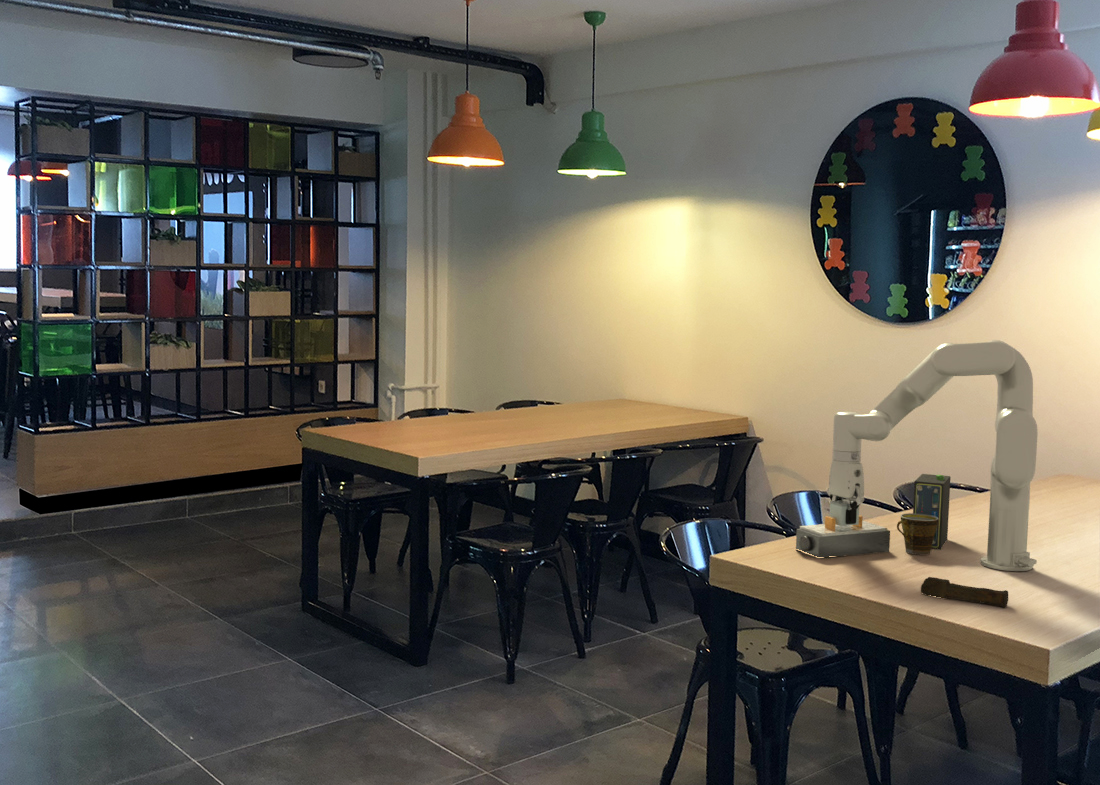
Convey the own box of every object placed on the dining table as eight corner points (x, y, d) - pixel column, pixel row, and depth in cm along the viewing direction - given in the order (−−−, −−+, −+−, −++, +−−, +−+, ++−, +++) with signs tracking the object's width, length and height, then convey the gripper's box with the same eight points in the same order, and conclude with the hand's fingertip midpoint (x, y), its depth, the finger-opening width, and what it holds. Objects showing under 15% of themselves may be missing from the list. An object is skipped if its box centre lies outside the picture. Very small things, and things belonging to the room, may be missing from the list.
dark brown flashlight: (1009, 606, 236) (1010, 586, 235) (1005, 610, 232) (1007, 590, 232) (923, 592, 246) (924, 573, 246) (919, 596, 243) (920, 577, 243)
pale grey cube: (858, 524, 284) (859, 503, 284) (840, 526, 282) (841, 504, 281) (846, 520, 289) (847, 499, 288) (829, 522, 286) (830, 501, 286)
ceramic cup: (917, 546, 293) (919, 512, 292) (945, 554, 284) (946, 519, 283) (883, 550, 287) (884, 515, 286) (909, 558, 278) (911, 522, 277)
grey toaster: (889, 551, 286) (890, 517, 285) (814, 559, 276) (815, 523, 276) (865, 543, 295) (866, 510, 294) (792, 550, 286) (793, 515, 285)
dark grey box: (910, 547, 292) (913, 477, 290) (919, 535, 308) (922, 469, 306) (940, 551, 288) (943, 480, 286) (948, 538, 304) (951, 471, 302)
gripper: (878, 460, 277) (875, 526, 279) (837, 451, 293) (835, 514, 295) (855, 461, 275) (853, 528, 276) (816, 453, 290) (813, 516, 292)
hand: (844, 520), depth 285 cm, fingers closed on pale grey cube, 5 cm apart
